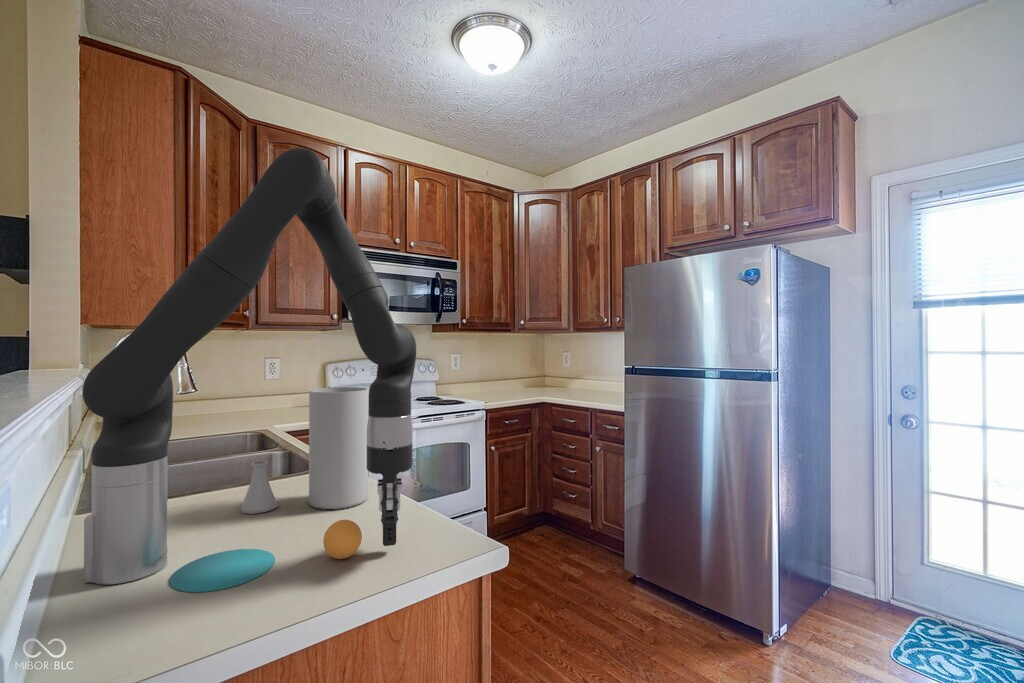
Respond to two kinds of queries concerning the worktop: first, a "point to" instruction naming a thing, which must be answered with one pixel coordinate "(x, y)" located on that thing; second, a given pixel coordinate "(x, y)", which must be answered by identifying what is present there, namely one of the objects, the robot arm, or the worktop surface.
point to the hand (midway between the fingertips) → (389, 543)
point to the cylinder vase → (338, 447)
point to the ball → (342, 539)
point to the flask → (259, 491)
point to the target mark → (222, 570)
